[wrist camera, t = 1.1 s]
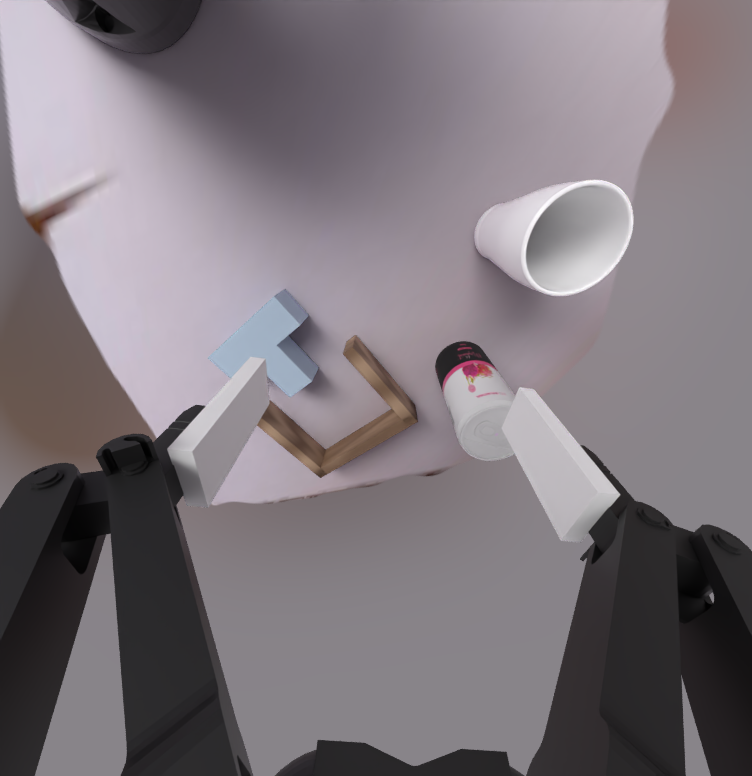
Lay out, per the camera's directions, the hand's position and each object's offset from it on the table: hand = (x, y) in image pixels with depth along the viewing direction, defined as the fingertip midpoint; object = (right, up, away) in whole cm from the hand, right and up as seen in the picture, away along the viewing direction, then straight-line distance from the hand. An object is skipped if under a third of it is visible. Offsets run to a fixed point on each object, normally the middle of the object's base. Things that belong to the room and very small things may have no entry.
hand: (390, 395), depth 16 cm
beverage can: (+10, +4, +24) cm, 26 cm away
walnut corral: (-6, -2, +28) cm, 28 cm away
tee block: (-13, +6, +23) cm, 28 cm away
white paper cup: (+12, +17, +16) cm, 26 cm away
